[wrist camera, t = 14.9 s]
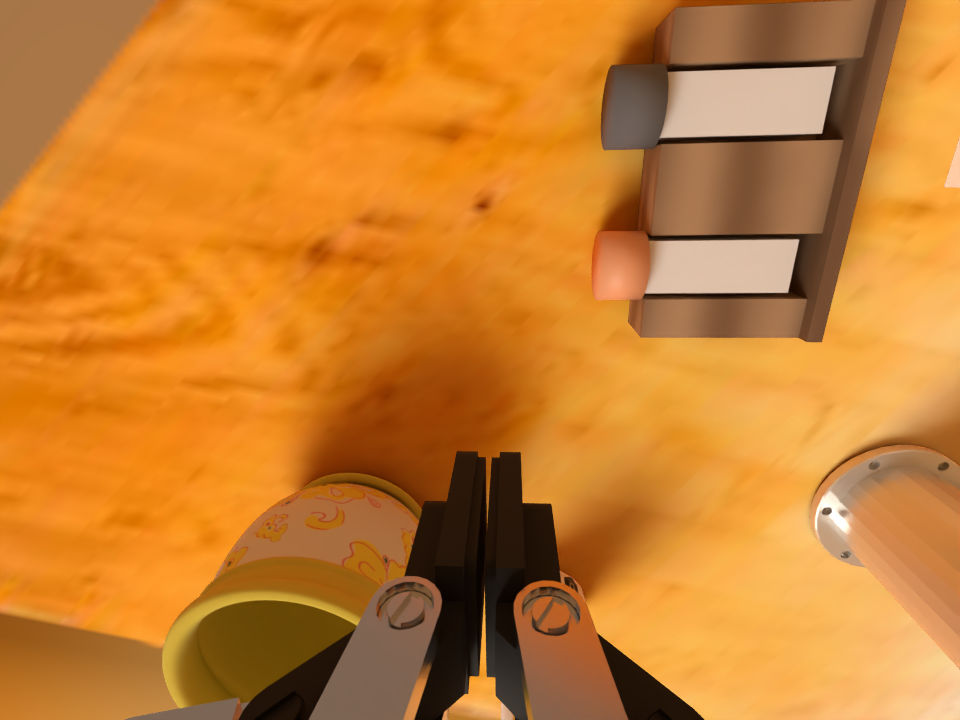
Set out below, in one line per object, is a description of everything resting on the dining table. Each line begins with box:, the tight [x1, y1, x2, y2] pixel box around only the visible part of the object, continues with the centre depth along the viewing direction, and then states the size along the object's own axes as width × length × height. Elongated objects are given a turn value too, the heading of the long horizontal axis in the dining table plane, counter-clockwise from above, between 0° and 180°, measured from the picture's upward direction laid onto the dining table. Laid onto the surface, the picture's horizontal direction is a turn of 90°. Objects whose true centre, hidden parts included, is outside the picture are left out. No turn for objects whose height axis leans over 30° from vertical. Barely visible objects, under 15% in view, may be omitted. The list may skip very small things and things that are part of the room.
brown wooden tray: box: [628, 0, 906, 342], centre depth 32 cm, size 12×20×5 cm, turn 1°
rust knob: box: [592, 231, 799, 300], centre depth 33 cm, size 13×5×5 cm, turn 91°
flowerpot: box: [162, 473, 422, 708], centre depth 39 cm, size 18×18×16 cm
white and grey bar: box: [601, 63, 836, 150], centre depth 30 cm, size 13×5×5 cm, turn 91°
